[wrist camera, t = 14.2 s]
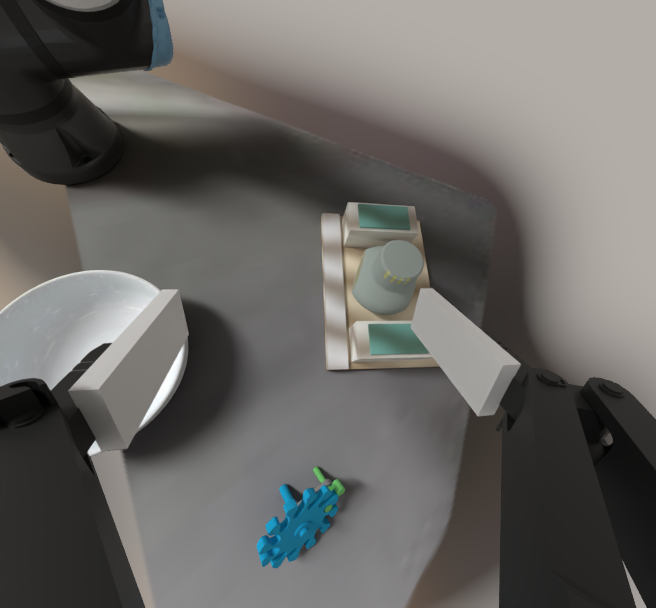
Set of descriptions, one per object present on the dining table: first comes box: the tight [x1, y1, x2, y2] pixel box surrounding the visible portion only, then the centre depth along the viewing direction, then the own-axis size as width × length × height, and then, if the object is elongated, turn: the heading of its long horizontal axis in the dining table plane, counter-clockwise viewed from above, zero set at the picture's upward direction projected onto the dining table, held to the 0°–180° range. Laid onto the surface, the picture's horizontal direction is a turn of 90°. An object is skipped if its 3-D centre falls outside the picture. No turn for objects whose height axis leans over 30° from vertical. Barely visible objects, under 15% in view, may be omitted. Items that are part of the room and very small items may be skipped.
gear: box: [257, 466, 345, 568], centre depth 31 cm, size 11×6×10 cm
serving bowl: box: [0, 270, 188, 457], centre depth 32 cm, size 21×21×7 cm
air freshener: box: [352, 240, 424, 315], centre depth 38 cm, size 11×8×10 cm
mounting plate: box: [321, 202, 440, 370], centre depth 41 cm, size 26×18×6 cm
